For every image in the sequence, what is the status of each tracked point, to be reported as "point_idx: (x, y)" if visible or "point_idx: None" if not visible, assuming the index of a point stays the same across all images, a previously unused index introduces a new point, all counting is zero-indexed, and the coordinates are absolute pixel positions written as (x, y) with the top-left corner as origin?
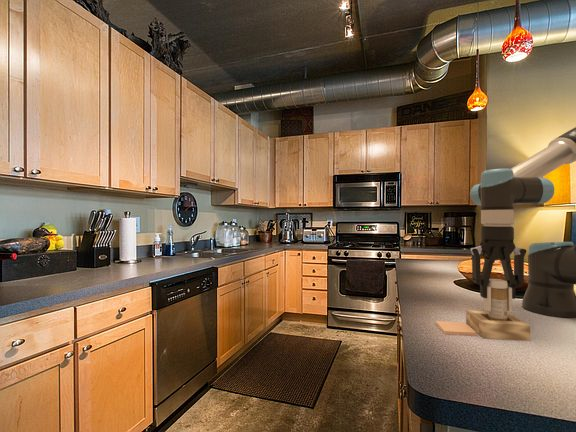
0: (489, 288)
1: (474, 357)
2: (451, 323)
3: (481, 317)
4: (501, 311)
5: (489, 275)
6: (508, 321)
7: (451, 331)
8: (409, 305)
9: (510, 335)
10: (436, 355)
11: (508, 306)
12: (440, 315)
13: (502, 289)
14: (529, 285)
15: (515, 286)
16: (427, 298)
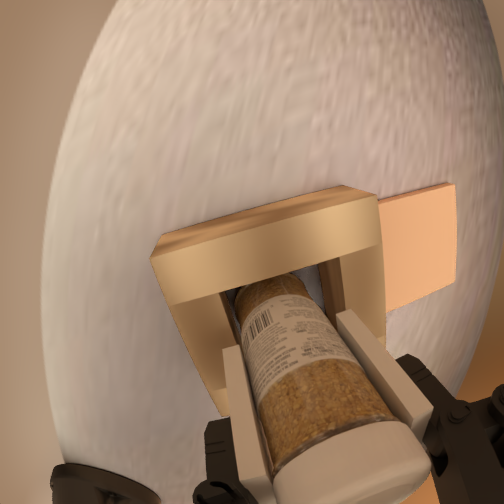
0: (419, 404)
1: (385, 6)
2: (420, 281)
3: (361, 286)
4: (287, 317)
5: (472, 490)
6: (246, 279)
7: (439, 187)
8: None
9: (241, 216)
10: (456, 17)
11: (245, 368)
12: None
13: (330, 431)
14: None
15: (214, 491)
16: None
